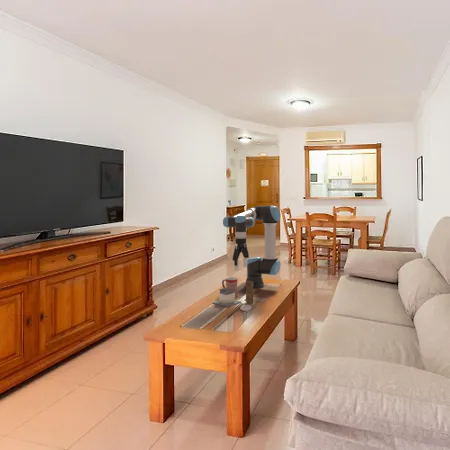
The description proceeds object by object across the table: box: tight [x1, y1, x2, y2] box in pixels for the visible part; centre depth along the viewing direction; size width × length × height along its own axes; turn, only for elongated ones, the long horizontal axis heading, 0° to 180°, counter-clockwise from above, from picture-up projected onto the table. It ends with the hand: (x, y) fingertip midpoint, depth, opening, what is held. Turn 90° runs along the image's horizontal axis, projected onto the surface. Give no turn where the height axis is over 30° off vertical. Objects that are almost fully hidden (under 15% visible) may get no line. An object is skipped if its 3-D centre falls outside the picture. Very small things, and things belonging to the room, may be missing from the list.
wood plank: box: [245, 280, 254, 305], centre depth 288 cm, size 3×4×15 cm
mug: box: [221, 276, 239, 298], centre depth 308 cm, size 13×9×14 cm
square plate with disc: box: [212, 286, 242, 308], centre depth 290 cm, size 14×14×10 cm
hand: (240, 268), depth 289 cm, fingers open, 13 cm apart
